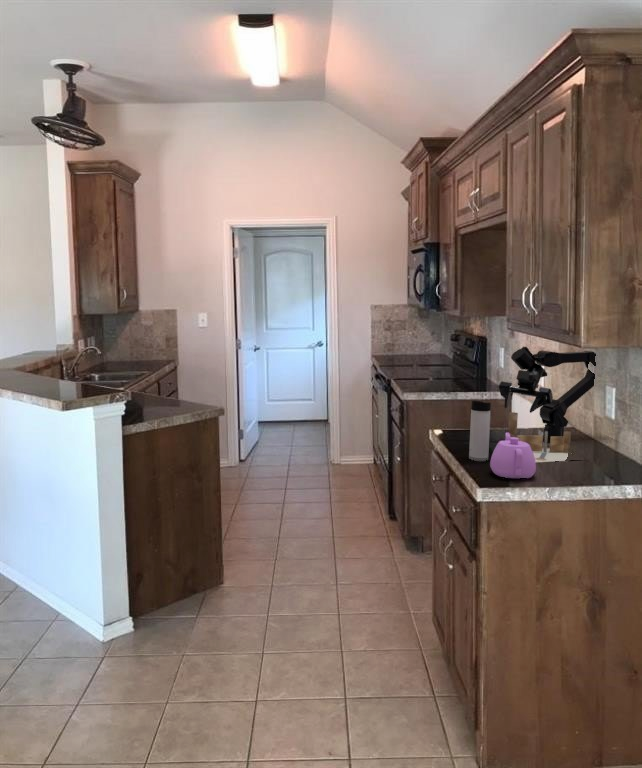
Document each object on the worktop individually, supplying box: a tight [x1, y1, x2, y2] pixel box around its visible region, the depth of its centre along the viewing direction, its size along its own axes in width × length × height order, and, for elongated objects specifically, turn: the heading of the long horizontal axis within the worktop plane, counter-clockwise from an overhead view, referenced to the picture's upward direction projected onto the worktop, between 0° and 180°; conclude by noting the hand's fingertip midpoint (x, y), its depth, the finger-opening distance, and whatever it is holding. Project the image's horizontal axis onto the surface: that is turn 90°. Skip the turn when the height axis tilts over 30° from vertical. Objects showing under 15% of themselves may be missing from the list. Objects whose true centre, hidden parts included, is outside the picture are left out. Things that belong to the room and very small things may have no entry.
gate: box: [507, 411, 544, 451], centre depth 249 cm, size 12×3×13 cm, turn 94°
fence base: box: [543, 430, 572, 453], centre depth 250 cm, size 9×3×8 cm, turn 104°
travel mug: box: [468, 400, 492, 462], centre depth 238 cm, size 6×7×20 cm
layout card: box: [532, 447, 568, 464], centre depth 247 cm, size 21×18×1 cm
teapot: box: [489, 432, 537, 479], centre depth 219 cm, size 20×13×12 cm, turn 177°
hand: (517, 409), depth 255 cm, fingers open, 9 cm apart
